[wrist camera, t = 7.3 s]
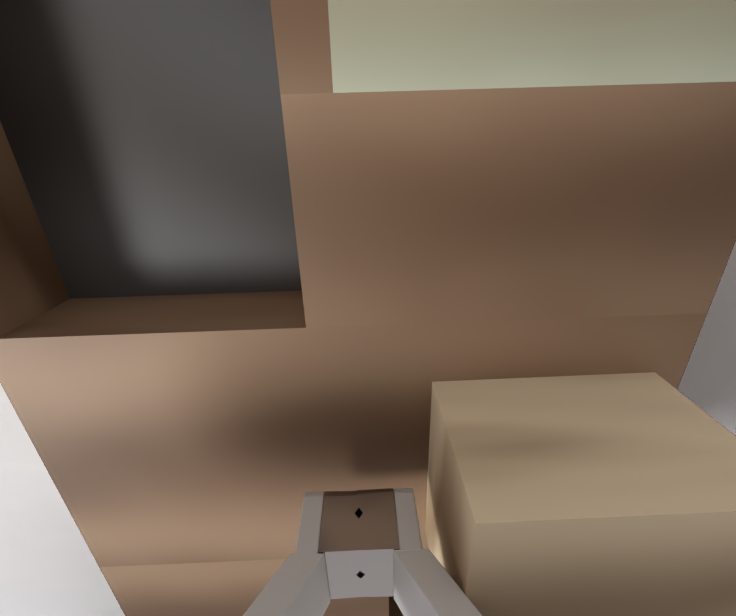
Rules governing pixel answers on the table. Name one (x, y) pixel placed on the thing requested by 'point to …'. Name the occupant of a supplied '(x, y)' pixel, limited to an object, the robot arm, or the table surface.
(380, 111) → the board
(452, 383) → the birch block
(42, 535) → the table surface
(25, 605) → the table surface
